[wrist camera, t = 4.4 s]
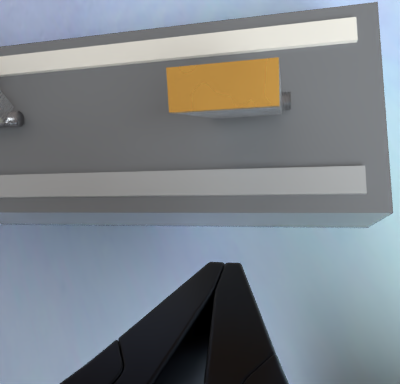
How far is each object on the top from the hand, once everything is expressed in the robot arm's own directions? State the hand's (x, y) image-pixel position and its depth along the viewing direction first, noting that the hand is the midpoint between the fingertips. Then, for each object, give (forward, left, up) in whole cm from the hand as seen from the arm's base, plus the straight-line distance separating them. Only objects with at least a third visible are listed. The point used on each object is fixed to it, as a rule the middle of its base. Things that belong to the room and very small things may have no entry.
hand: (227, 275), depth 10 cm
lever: (+5, +6, -6) cm, 10 cm away
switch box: (0, +11, -12) cm, 16 cm away
